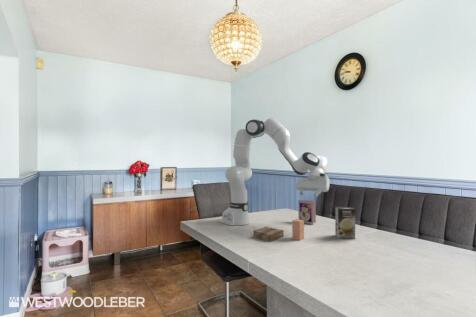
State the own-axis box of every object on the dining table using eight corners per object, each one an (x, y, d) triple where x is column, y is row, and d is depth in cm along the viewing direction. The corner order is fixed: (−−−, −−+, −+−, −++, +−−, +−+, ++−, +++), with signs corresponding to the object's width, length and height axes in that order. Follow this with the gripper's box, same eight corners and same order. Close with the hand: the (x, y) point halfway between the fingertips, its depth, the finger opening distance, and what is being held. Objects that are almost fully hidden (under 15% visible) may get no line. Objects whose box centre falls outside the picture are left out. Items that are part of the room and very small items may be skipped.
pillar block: (292, 238, 143) (292, 220, 143) (296, 236, 147) (296, 218, 147) (299, 240, 140) (299, 221, 140) (303, 238, 144) (303, 220, 144)
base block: (253, 238, 146) (253, 230, 146) (266, 233, 155) (266, 226, 155) (271, 242, 138) (271, 234, 138) (283, 237, 147) (283, 230, 147)
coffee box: (338, 238, 144) (338, 208, 144) (335, 235, 150) (334, 206, 150) (355, 238, 143) (355, 209, 143) (351, 235, 149) (351, 206, 149)
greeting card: (297, 222, 181) (297, 200, 181) (303, 220, 186) (303, 199, 186) (312, 225, 173) (312, 202, 173) (318, 223, 178) (318, 200, 178)
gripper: (297, 174, 167) (290, 191, 160) (329, 174, 154) (322, 193, 146) (301, 180, 171) (294, 197, 163) (332, 181, 157) (326, 200, 150)
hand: (307, 195), depth 155 cm, fingers open, 8 cm apart
